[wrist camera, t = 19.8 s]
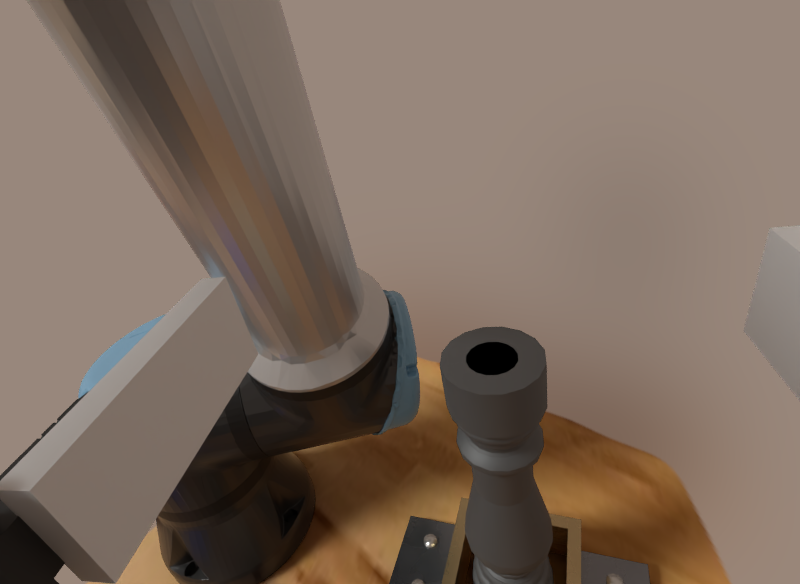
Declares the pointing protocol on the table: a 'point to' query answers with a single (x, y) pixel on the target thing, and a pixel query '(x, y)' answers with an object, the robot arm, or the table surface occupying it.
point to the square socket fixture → (450, 551)
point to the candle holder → (501, 450)
